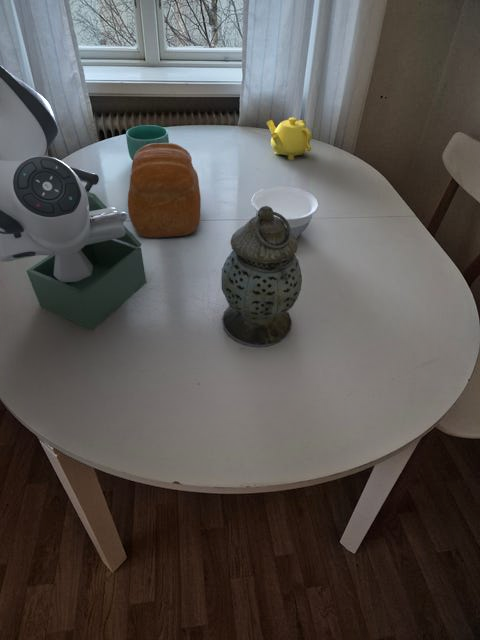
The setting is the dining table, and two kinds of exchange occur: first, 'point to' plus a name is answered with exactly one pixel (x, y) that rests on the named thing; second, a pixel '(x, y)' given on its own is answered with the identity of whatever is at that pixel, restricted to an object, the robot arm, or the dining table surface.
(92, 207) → the chest lid
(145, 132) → the mug
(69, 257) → the flask
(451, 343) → the dining table surface
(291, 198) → the bowl
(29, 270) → the chest
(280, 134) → the teapot
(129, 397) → the dining table surface
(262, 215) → the lantern
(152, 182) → the bread
